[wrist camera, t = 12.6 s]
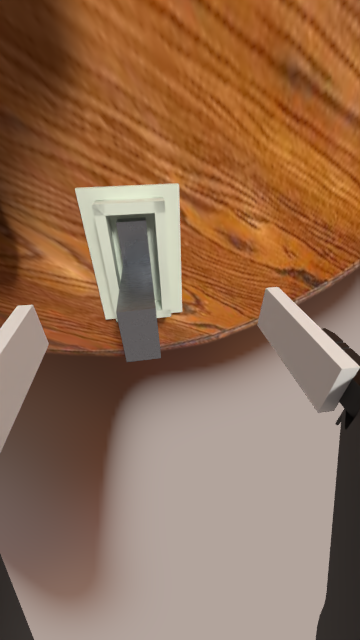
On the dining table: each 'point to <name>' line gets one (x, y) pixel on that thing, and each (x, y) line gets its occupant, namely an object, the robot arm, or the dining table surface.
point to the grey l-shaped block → (136, 293)
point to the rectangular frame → (163, 239)
